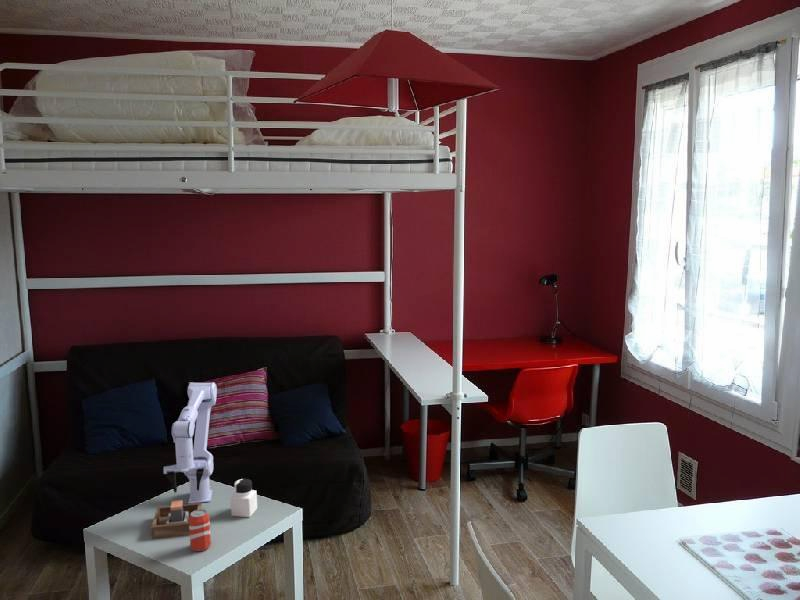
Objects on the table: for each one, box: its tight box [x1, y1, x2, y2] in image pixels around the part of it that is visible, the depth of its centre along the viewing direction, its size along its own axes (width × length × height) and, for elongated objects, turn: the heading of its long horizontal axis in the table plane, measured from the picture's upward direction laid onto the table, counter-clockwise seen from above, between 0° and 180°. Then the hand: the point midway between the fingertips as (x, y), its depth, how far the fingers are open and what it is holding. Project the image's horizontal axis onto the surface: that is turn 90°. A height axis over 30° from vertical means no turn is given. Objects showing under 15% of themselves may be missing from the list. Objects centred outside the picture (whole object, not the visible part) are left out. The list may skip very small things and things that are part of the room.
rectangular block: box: [170, 499, 184, 522], centre depth 230 cm, size 5×4×7 cm
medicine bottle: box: [230, 478, 258, 518], centre depth 239 cm, size 7×7×12 cm
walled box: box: [150, 502, 203, 540], centre depth 231 cm, size 15×15×4 cm
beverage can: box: [189, 508, 212, 552], centre depth 215 cm, size 6×6×12 cm
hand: (186, 490), depth 236 cm, fingers open, 7 cm apart
